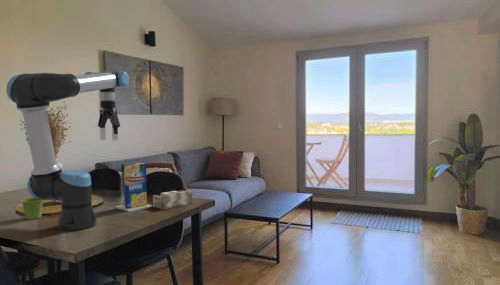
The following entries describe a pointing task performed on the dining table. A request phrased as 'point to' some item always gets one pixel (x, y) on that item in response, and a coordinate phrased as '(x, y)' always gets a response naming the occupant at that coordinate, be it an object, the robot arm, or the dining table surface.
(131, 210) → the mat
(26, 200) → the plant pot
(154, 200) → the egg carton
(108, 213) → the dining table surface
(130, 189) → the blue food box
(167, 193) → the offcut stack
